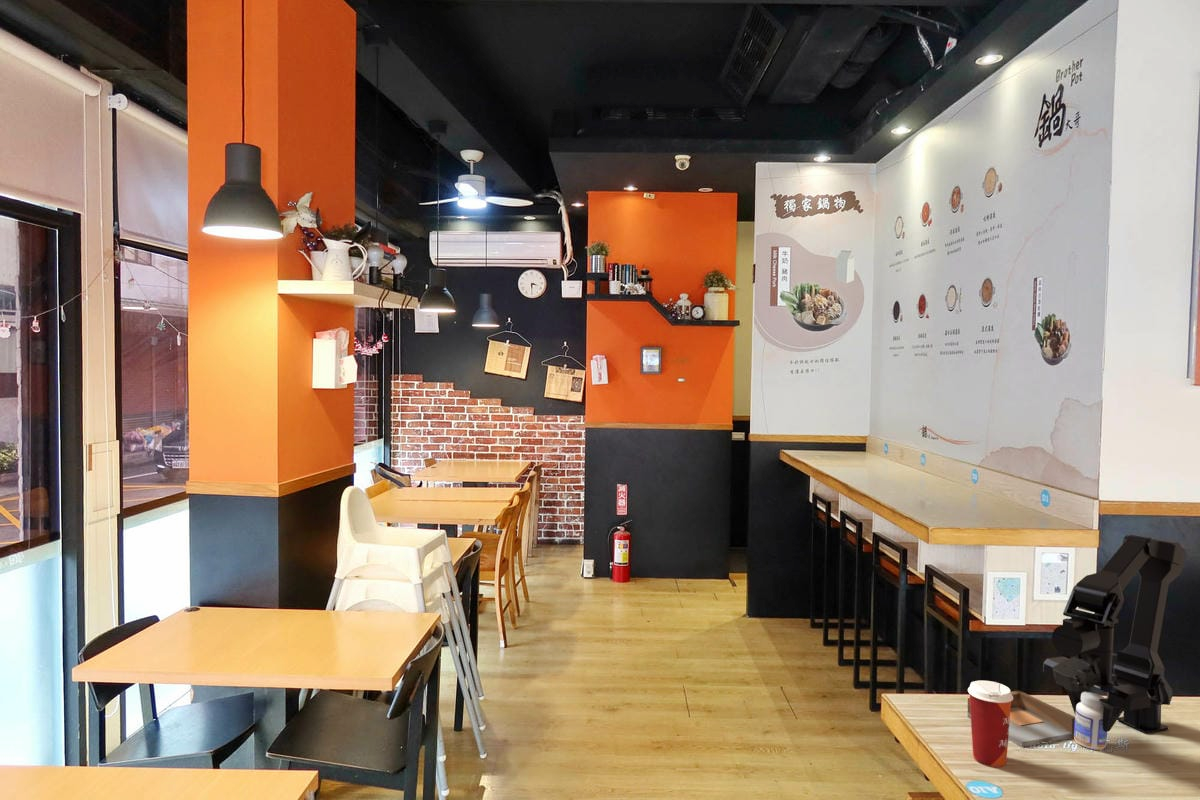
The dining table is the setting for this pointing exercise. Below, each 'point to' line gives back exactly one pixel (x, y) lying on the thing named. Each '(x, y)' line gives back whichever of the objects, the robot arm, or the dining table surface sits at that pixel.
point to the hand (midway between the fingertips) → (1092, 724)
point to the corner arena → (1036, 721)
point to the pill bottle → (1090, 722)
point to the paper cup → (990, 721)
